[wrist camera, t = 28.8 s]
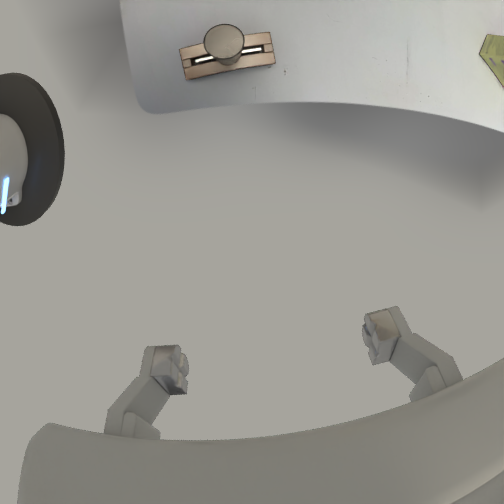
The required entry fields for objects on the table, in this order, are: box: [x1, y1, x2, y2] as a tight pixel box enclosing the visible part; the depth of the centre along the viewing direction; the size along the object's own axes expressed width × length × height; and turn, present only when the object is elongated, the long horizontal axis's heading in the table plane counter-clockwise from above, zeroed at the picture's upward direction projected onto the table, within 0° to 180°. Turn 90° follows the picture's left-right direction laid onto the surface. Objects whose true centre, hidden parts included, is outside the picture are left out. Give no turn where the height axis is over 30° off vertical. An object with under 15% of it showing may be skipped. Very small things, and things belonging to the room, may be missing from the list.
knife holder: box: [179, 32, 276, 80], centre depth 26 cm, size 10×4×4 cm, turn 100°
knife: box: [196, 24, 262, 65], centre depth 21 cm, size 7×3×17 cm, turn 100°
